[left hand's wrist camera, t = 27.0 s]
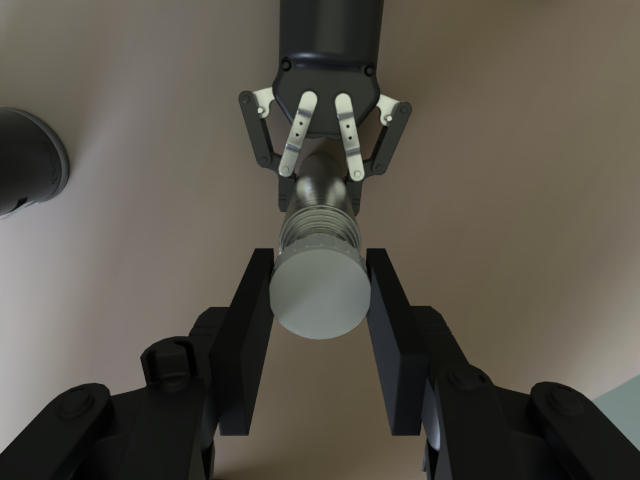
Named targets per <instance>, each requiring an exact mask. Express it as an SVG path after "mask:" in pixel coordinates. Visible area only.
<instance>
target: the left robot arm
mask: <svg viewBox="0 0 640 480" xmlns="http://www.w3.org/2000/svg"><path fill="white" fill-rule="evenodd" d="M273 267H274V250H273V248H255V250H254V253H253V255H252V257H251V259H250V262H249V264H248V266H247V268H246V271H245V273H244V275H243V277H242V280H241V282H240V284H239V287H238V289H237V291H236V293H235V296H234V298H233V300H232V302H231V305H230V307H210V308H208V309H207V310H206V311H204V312H203V313H202V314H201V315H199V317H198V319H197V321H196V322H195V324H194V327H193V328H192V329H191V331H190V333H189V336H187V337H186V336H174V337H170V338H166V339H163V340H160V341H158V342H156V343H154V344H152V345H151V346H150V347H148V348H147V349H146V350H145V351H144V352H143V354H142V355H141V357H140V359H141V363H142V367H143V371H144V376H145V380H146V384H147V385H146V387H144V388H141V389H137V390H134V391H130V392H126V393H122V394H117V395H113V396H111V395H110V391H109V389H108V388H107V387H106V386H105V385H103V384H98V383H89V384H83V385H79V386H76V387H73V388H71V389H69V390H67V391H65V392H63V393H62V394H60V395H58V396H57V397H56V398H55V399H53V400H52V401H51V402H50V403H49V404H48V405H47V406H46V407H45V408H44V409H43V410H42V411H41V412H40V413H39V414H38V415H37V416H36V417H35V418H34V419H33V420H32V421H31V422H30V423H29V425H28V426H27V427H26V428H25V429H24V430H23V431H22V432H21V433H20V434H19V435H18V436H17V437H16V438H15V439H14V440H13V441H12V442H11V443H10V444H9V446H8V447H7V448H6V449H5V450H4V451H3V452H2V453H1V454H0V480H213V470H214V459H215V447H214V440H213V437H214V434H215V431H216V428H217V425H218V423H219V429H220V436H248V435H249V430H250V425H251V421H252V416H253V411H254V407H255V402H256V397H257V393H258V388H259V383H260V379H261V374H262V369H263V365H264V360H265V355H266V351H267V346H268V342H269V337H270V332H271V328H272V323H273V318H274V313H273V311H272V309H271V306H270V291H269V285H270V281H271V280H270V278H271V274H272V271H273ZM366 267H367V272H368V276H369V280H370V284H371V295H370V307H369V310H368V312H367V314H366V317H367V322H368V327H369V331H370V336H371V341H372V345H373V350H374V354H375V359H376V364H377V368H378V373H379V378H380V382H381V387H382V392H383V396H384V401H385V406H386V410H387V415H388V420H389V424H390V429H391V434H392V436H420V431H421V424H422V422H423V425H424V428H425V432H426V435H427V440H426V446H425V453H424V459H423V465H422V471H423V472H426V470H427V480H640V451H639V450H638V449H637V448H636V447H635V446H634V445H633V444H632V443H631V442H630V441H629V440H628V439H627V438H626V437H625V436H624V435H623V434H622V433H621V431H620V430H619V429H618V428H617V427H616V426H615V425H614V424H613V423H612V422H611V421H610V420H609V419H608V418H607V417H606V416H605V415H604V414H603V413H602V412H601V411H600V410H599V409H598V408H597V406H596V405H595V404H594V403H593V402H592V401H590V400H589V399H588V398H587V397H585V396H584V395H583V394H582V393H580V392H578V391H576V390H574V389H573V388H571V387H568V386H565V385H562V384H559V383H555V382H546V381H545V382H541V383H537V384H535V385H534V386H533V387H532V389H531V392H530V395H529V394H525V393H520V392H516V391H512V390H508V389H504V388H501V387H498V386H495V385H494V384H493V383H492V381H491V379H490V378H489V376H488V375H486V374H485V373H484V372H483V371H482V370H481V369H479V368H477V367H475V366H473V365H470V364H469V363H468V361H467V359H466V357H465V356H464V354H463V352H462V350H461V349H460V347H459V345H458V343H457V342H456V340H455V338H454V336H453V335H452V333H451V331H450V329H449V328H448V327H447V324H446V322H445V320H444V319H443V317H442V315H441V314H440V313H438V312H437V311H436V310H435V309H433V308H432V307H431V306H410V304H409V302H408V300H407V297H406V295H405V293H404V291H403V288H402V286H401V284H400V281H399V279H398V277H397V275H396V272H395V270H394V268H393V266H392V263H391V261H390V259H389V257H388V254H387V252H386V250H385V248H367V254H366Z"/></svg>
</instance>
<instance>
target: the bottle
mask: <svg viewBox="0 0 640 480" xmlns="http://www.w3.org/2000/svg"><path fill="white" fill-rule="evenodd" d="M320 234H322V235H326V236H332V237H333V236H335V237H336V238H338V239H341V240H343V241H347V242H348V244H350V245H351V246H352V247H353V248H357V251H358V253H359V254H360V252H361V235H360V231H359V228H358V225H357V221H356V218H355V215H354V212H353V208H352V205H351V202H350V199H349V195H348V192H347V189H346V185H345V182H344V179H343V176H342V172H341V169H340V166H339V164H338V162H337V161H336V160H335V159H334V158H333V157H331V156H330V155H327V154H324V153H316V154H313V155H310V156H309V157H307V158H306V159H305V160H304V161H303V163H302V164H301V166H300V169H299V173H298V176H297V179H296V183H295V186H294V189H293V192H292V196H291V199H290V202H289V205H288V209H287V212H286V215H285V219H284V222H283V225H282V228H281V232H280V236H279V250H280V255H281V253H282V252H283V251H284V248H285V247H288V246H289V245H291V244H292V243H294V242H295V240H296V239H297V240H299V239H302V238H305V237H307V235H309V236H314V235H320Z"/></svg>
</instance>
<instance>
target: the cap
mask: <svg viewBox="0 0 640 480" xmlns="http://www.w3.org/2000/svg"><path fill="white" fill-rule="evenodd" d="M270 280H271V281H270V285H269V291H270V306H271V309H272V311H273V313H274V315H275V317H276V318H277V319H278V321H279V322H280V323H281V324H282V325H283V326H284V327H286V328H287V329H288V330H290V331H291V332H293V333H295V334H297V335H300V336H303V337H306V338H311V339H328V338H334V337H338V336H340V335H343V334H345V333H347V332H349V331H350V330H352V329H353V328H355V327H356V326H357V325H358V324H359V323H360V322H361V321H362V320H363V318H364V317H365V315H366V314H367V312H368V310H369V307H370V295H371V284H370V280H369V276H368V272H367V267H366V264H365V260H364V258H362V257H361V256H360V254H359V253H358V251H357V248H353V247H352V246H351V245H350V244H348V242H347V241H343V240H341V239H338V238H336V237H335V236H333V237H332V236H326V235H322V234H320V235H314V236H309V235H307V237H305V238H302V239H299V240H297V239H296V240H295V242H294V243H292V244H291V245H289V246H288V247H285V248H284V251H283V252H282V253H281V255H280V256H277V259H276V263H275V266H274V267H273V271H272V274H271V278H270Z"/></svg>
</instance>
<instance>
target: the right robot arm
mask: <svg viewBox="0 0 640 480" xmlns="http://www.w3.org/2000/svg"><path fill="white" fill-rule="evenodd" d="M383 4H384V0H280V39H279V70H278V73H277V76H276V78H275V80H274V82H273V85H272V87H269V88H265V89H261V90H258V91H254V92H251V91H243V92H241V93H240V95H239V103H240V106H241V110H242V113H243V116H244V120H245V123H246V126H247V130H248V133H249V137H250V140H251V143H252V147H253V150H254V154H255V157H256V160H257V163H258V165H259V166H260V167H263V168H268V169H270V170H273V171H275V172H276V173H277V175H278V177H279V201H278V206H279V209H280V211H281V212H287V209H288V205H289V202H290V199H291V196H292V192H293V189H294V186H295V183H296V175H297V173H294V167H295V164H296V162H297V159H298V156H299V153H300V150H301V147H302V144H303V142H304V139H305V138H318V137H327V138H330V139H333V140H341V141H342V146H343V150H344V154H345V158H346V163H347V168H348V172H347V177H346V176H345V179H344V182H345V185H346V189H347V192H348V195H349V199H350V202H351V205H352V208H353V212H354V215H355V216H357V214H358V212H359V208H360V198H361V189H362V183H363V181H364V179H365V178H367V177H369V176H372V175H382V174H384V173H385V172H386V170H387V167H388V165H389V163H390V160H391V158H392V156H393V153H394V151H395V149H396V146H397V144H398V142H399V139H400V137H401V135H402V132H403V130H404V128H405V126H406V123H407V121H408V119H409V116H410V114H411V111H412V107H411V105H410V103H408V102H405V101H397V100H394V99H392V98H389V97H387V96H384V95H382V94H380V88H379V85H378V83H377V78H376V69H377V60H378V50H379V41H380V32H381V23H382V13H383ZM273 100H276V101H277V103H278V104H279V106H280V108H281V109H282V111H283V112H284V114H285V115H286V117H287V119H288V120H289V122H290V123H291V125H292V128H291V131H290V134H289V137H288V140H287V143H286V146H285V150H284V153H283V156H281V155H279V154H277V153H274V150H273V147H272V143H271V139H270V136H269V132H268V128H267V125H266V121H265V117H268V116H269V115H270V112H271V108H270V106H271V103H272V101H273ZM375 106H376V107H377V108H378V109H379V122H380V123H381V124H382V125H383V128H382V130H381V133H380V135H379V137H378V140H377V142H376V145H375V147H374V150H373V152H372V155H371V157H370V158H369V159H366V160H362V157H361V152H360V145H359V140H358V135H357V130H356V129H357V128H358V127H359V126H360V125H361V123H362V122H363V121H364V120H365V118H366V117H367V116H368V115H369V114H370V112H371V111H372V110H373V109H374V107H375ZM68 174H69V164H68V159H67V155H66V152H65V150H64V148H63V146H62V144H61V142H60V140H59V139H58V137H57V136H56V135H55V133H54V132H53V131H52V130H51V129H50V128H49V127H48V126H47V125H46V124H45V123H43V122H42V121H41V120H39V119H38V118H36V117H35V116H33V115H31V114H29V113H27V112H24V111H21V110H18V109H13V108H0V216H2V215H5V214H8V213H10V212H11V213H10V214H8V215H7V216H5V217H4V218H2V219H1V220H3V219H5V218H8V217H10V216H12V215H13V214H15V213H16V212H18V211H19V210H21V209H22V208H25V207H28V206H30V205H33V204H39V203H42V202H45V201H48V200H50V199H52V198H54V197H56V196H57V195H58V194H59V193H60V192H61V191H62V190H63V188H64V187H65V185H66V183H67V179H68Z"/></svg>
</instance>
